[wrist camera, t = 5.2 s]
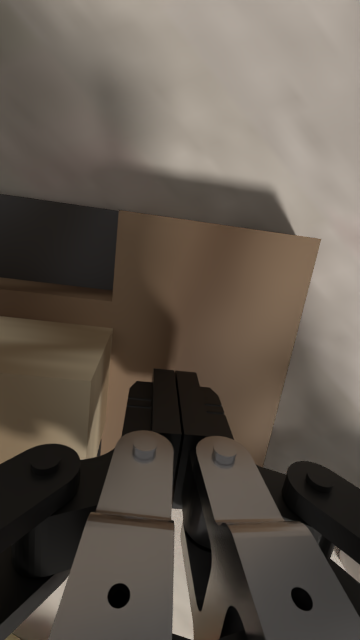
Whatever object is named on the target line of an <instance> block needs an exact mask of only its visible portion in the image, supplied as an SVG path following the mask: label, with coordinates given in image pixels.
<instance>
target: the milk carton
mask: <svg viewBox="0 0 360 640" xmlns="http://www.w3.org/2000/svg"><path fill="white" fill-rule="evenodd" d="M5 640H21V639H20V638H18V637H16V636H15V635H13V634H10V635H9V636H8V637H7V638H6V639H5Z"/></svg>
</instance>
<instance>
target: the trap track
mask: <svg viewBox="0 0 360 640" xmlns="http://www.w3.org/2000/svg"><path fill="white" fill-rule="evenodd" d="M320 241H321V239H317V238H310V237H303V236H296V235H289V234H282V233H275V232H268V231H261V230H254V229H247V228H240V227H234V226H227V225H220V224H213V223H206V222H199V221H192V220H185V219H178V218H171V217H164V216H157V215H150V214H143V213H136V212H129V211H122V210H119V211H115V210H108V209H101V208H94V207H87V206H80V205H73V204H66V203H59V202H52V201H45V200H38V199H31V198H24V197H17V196H10V195H3V194H0V316H4V317H13V318H22V319H32V320H41V321H50V322H60V323H69V324H78V325H87V326H97V327H106V328H113V334H112V347H111V359H110V371H109V383H108V396H107V408H106V420H105V426H104V429H103V433H102V437H101V441H100V445H99V449H98V453H97V457H98V456H101V455H104V454H106V453H108V452H110V451H111V450H113V449H114V448H115V446H116V444H117V442H118V440H119V439H120V438H121V436H122V430H123V424H124V418H125V412H126V407H127V400H128V394H129V388H130V387H131V386H132V385H133V384H134V383H135V382H136V381H144V382H152V375H153V369H154V368H156V369H166V370H174V372H175V370H177V371H188V372H196V373H197V377H198V381H199V385H200V387H210V388H211V389H212V390H213V391H214V392H215V393H216V394H217V395H218V396H219V399H220V401H221V404H222V407H223V410H224V415H226V418H227V421H228V424H229V427H230V429H231V432H232V435H233V438H234V440H235V441H237V442H239V443H240V444H242V445H243V446H244V447H245V448H246V449H247V450H248V451H249V453H250V454H251V456H252V458H253V460H254V462H255V464H256V465H258V466H260V467H263V464H264V460H265V456H266V452H267V448H268V444H269V440H270V437H271V433H272V429H273V425H274V421H275V417H276V413H277V409H278V405H279V401H280V398H281V394H282V390H283V386H284V382H285V378H286V374H287V370H288V366H289V362H290V358H291V355H292V351H293V347H294V343H295V339H296V335H297V331H298V327H299V323H300V319H301V316H302V312H303V308H304V304H305V300H306V296H307V292H308V288H309V284H310V280H311V276H312V273H313V269H314V265H315V261H316V257H317V253H318V249H319V245H320Z"/></svg>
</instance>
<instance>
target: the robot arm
mask: <svg viewBox="0 0 360 640" xmlns="http://www.w3.org/2000/svg"><path fill="white" fill-rule="evenodd" d="M172 508H174V509H182V511H183V523H182V528H181V535H180V538H181V546H182V552H183V559H184V566H185V572H186V579H187V586H188V592H189V599H190V605H191V612H192V619H193V630H194V640H360V583H359V582H358V581H357V580H355V579H354V578H353V577H352V576H350V575H349V574H348V573H347V572H346V571H344V570H343V569H342V568H341V567H340V566H338V565H337V564H336V563H335V562H334V561H332V560H331V559H330V557H331V555H332V552H333V549H334V547H335V546H337V547H338V548H339V549H340V550H342V551H343V552H344V553H345V554H347V555H348V556H349V557H351V558H352V559H353V560H354V561H356V562H357V563H358V564H359V565H360V489H359V488H358V487H356V486H354V485H353V484H351V483H350V482H348V481H346V480H345V479H343V478H342V477H340V476H339V475H337V474H335V473H334V472H332V471H331V470H329V469H327V468H325V467H323V466H321V465H318V464H316V463H312V462H306V461H300V462H295V463H293V464H291V465H290V466H289V468H288V471H287V474H286V475H285V474H282V473H279V472H276V471H272V470H269V469H266V468H263V467H260V466H258V465H256V464H255V462H254V460H253V458H252V456H251V454H250V453H249V451H248V450H247V449H246V448H245V447H244V446H243V445H242V444H240V443H239V442H237V441H235V440H234V438H233V435H232V432H231V429H230V427H229V424H228V421H227V418H226V415H224V410H223V407H222V404H221V401H220V399H219V396H218V395H217V394H216V393H215V392H214V391H213V390H212V389H211V388H210V387H200V385H199V381H198V377H197V373H196V372H188V371H177V370H175V372H174V370H166V369H156V368H154V369H153V375H152V382H144V381H136V382H135V383H134V384H133V385H132V386H131V387H130V388H129V394H128V400H127V407H126V412H125V418H124V424H123V430H122V436H121V438H120V439H119V440H118V442H117V444H116V446H115V448H114V449H113V450H111V451H110V452H108V453H106V454H104V455H101V456H98V457H94V458H88V459H83V460H80V457H79V455H78V454H77V452H76V451H75V450H74V449H72V448H70V447H68V446H66V445H62V444H43V445H38V446H35V447H32V448H30V449H28V450H26V451H24V452H22V453H20V454H18V455H16V456H14V457H13V458H11V459H9V460H7V461H5V462H3V463H1V464H0V640H5V639H6V638H7V637H8V636H9V635H10V634H11V633H12V632H13V631H14V630H15V629H16V628H17V627H18V626H19V625H20V624H21V623H22V622H23V621H24V620H25V619H26V618H27V617H28V616H29V615H30V614H31V613H32V612H33V611H34V610H35V609H36V608H38V607H39V606H40V605H41V604H42V603H43V602H44V601H45V600H46V599H47V598H48V597H49V596H50V595H51V594H52V593H53V592H54V591H55V590H56V589H57V588H58V587H59V586H60V585H61V584H62V583H63V582H64V581H65V580H66V578H67V577H68V576H69V577H68V580H67V583H66V586H65V589H64V593H63V596H62V599H61V602H60V605H59V608H58V611H57V614H56V617H55V620H54V624H53V627H52V630H51V633H50V636H49V639H48V640H190V639H187V638H184V637H181V636H178V635H175V634H172V615H173V572H174V521H173V520H171V509H172Z"/></svg>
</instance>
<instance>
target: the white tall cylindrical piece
mask: <svg viewBox="0 0 360 640" xmlns="http://www.w3.org/2000/svg"><path fill="white" fill-rule="evenodd" d="M339 558H340V561H341V563H342V564H343V566H344V568H345V570H346V572H347V573H348V574H349V575H350V576H352V577H353V578H354V579H355V580H357V581H358V582H359V583H360V565H359V564H358V563H357V562H356V561H354V560H353V559H352V558H351V557H349V556H348V555H347V554H345V553H344V552H343V551H342V550H340V553H339Z"/></svg>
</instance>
